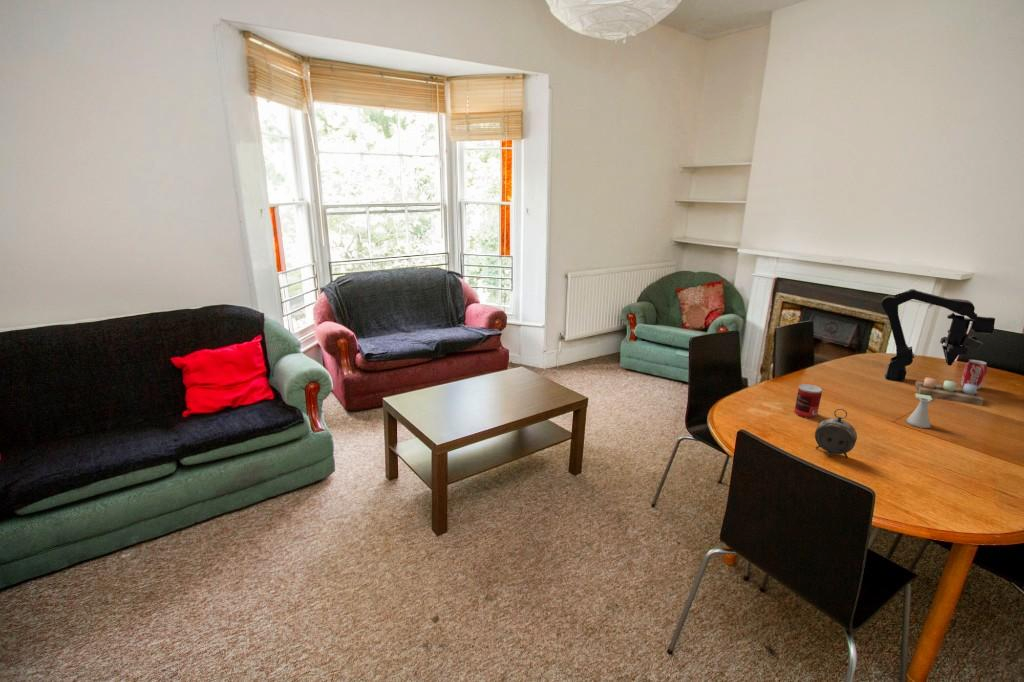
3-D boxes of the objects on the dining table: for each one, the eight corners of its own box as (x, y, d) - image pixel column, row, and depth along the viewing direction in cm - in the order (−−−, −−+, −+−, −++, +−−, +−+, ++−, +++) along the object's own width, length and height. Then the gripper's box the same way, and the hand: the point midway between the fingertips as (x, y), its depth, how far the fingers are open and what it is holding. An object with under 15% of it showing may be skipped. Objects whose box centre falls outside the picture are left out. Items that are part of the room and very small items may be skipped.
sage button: (942, 392, 206) (945, 382, 205) (940, 389, 209) (943, 379, 208) (955, 394, 204) (957, 384, 203) (952, 391, 207) (955, 381, 206)
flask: (925, 421, 182) (932, 397, 179) (934, 430, 176) (941, 404, 173) (902, 418, 185) (909, 394, 182) (910, 427, 178) (917, 401, 175)
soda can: (985, 390, 213) (993, 364, 210) (969, 390, 213) (977, 364, 210) (971, 384, 220) (978, 359, 216) (955, 384, 220) (962, 359, 216)
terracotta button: (923, 388, 209) (925, 379, 208) (921, 386, 212) (924, 376, 211) (935, 390, 207) (937, 381, 206) (933, 387, 210) (936, 378, 209)
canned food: (815, 412, 189) (820, 385, 186) (818, 420, 182) (823, 393, 179) (793, 408, 192) (798, 382, 189) (794, 416, 185) (800, 389, 182)
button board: (919, 394, 207) (920, 389, 206) (914, 386, 217) (916, 380, 216) (981, 405, 197) (983, 399, 197) (974, 395, 207) (975, 390, 206)
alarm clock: (852, 457, 157) (863, 411, 152) (849, 464, 153) (860, 416, 148) (813, 446, 163) (823, 401, 159) (810, 452, 160) (819, 406, 155)
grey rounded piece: (962, 395, 203) (965, 385, 202) (960, 392, 206) (963, 382, 205) (975, 397, 201) (978, 387, 200) (973, 394, 204) (976, 384, 203)
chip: (916, 398, 203) (917, 397, 203) (915, 394, 208) (915, 393, 207) (932, 401, 201) (932, 399, 201) (930, 397, 205) (930, 395, 205)
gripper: (990, 337, 196) (978, 374, 201) (977, 327, 211) (967, 361, 216) (953, 333, 202) (943, 369, 206) (944, 324, 217) (935, 357, 221)
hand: (948, 364), depth 212 cm, fingers open, 3 cm apart
